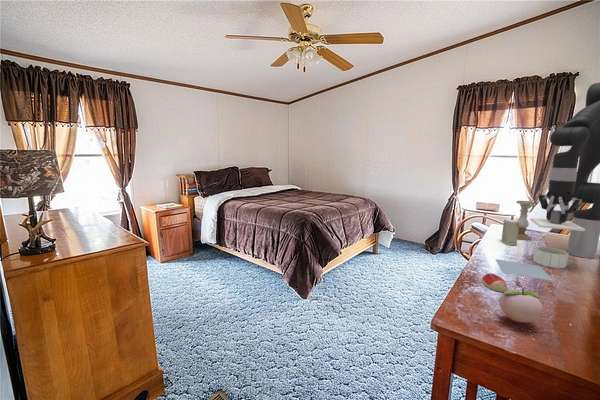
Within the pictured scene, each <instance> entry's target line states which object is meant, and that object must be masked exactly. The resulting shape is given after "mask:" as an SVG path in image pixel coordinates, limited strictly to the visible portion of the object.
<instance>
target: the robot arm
mask: <svg viewBox="0 0 600 400" xmlns="http://www.w3.org/2000/svg"><path fill="white" fill-rule="evenodd" d="M549 140H550V144H551V145H553V146H555V147H570V148H569V149H568V150H566V151H563V152H557V153H555V154H554V155H553V159H552V160H553V161H552V167H551V171H550V174H549V180H548V187H547V189H548V191H547V192H546V194H539V195H538V199H539V203H540V207H541V209H542V210H545V211H546V214H545V215H546V216H545V217H546V218H545V219H547V220H549V221H550V216H551V210H555V207H556V206H557V205H559V208H560V211H561V213H562V214H561V215H560V221H559V222H560V223H565V222H566V221H568V216H569V214H572V219H571V222H573V223H575V224H576V225H578V226H580V227H582V228H584V229H585V231H577V230H569V238H568V242H567V247H566V252H567V253H568V254H569V255H571V256H576V257H578V258H585V259H595V258H596V254H597V251H598V246H599V241H600V183H599V182H589V181H588V180H589V178H590V176H591V174H592V172H593V170H595V168H597V167H598V166H599V165H600V82H596V83H592V84H590V85H589V87H588V89H587V92H586V96H585V107H584V108H582V109H581V110H578V111H577V113H575V115H574V116H572V117H571V119H570V120H568V121H566V122H565V123H563V124H561V125H559V126H558V127H557V128H555V129H554V130H553V131H552V133H551V135H550V138H549ZM548 200H549V201H548ZM570 202H571V203H572V204H571V205H570ZM582 203H583V204H584V203H585V204H591V205H592V206H591V207H588V208H585V209H584V208H583V209H578V208H580V206H581V204H582Z"/></svg>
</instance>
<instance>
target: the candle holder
mask: <svg viewBox="0 0 600 400" xmlns="http://www.w3.org/2000/svg"><path fill="white" fill-rule="evenodd" d="M515 203H516V204H519V207H520V210H519V212H520V215H519V217H518V219H517V220H516V221H517V222H520V223H519V231H518V238H517V240H519V241H531V239H532V237H531V236H530V235H529V234H527V233H526V231H528V227H530V226H529V225H530V224H529V221H528V213H529V208H530V207H531V205H532V206H533V205H535V202H534V201H528V200H516V202H515Z"/></svg>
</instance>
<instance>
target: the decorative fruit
mask: <svg viewBox="0 0 600 400" xmlns="http://www.w3.org/2000/svg"><path fill="white" fill-rule="evenodd" d="M539 299H540V300H542V297H541V296H540V295H538V294H537V293H536V292H532V291H527V290H526V291H525V288H524V287H522V289H521V290H514V289H508V290H507V291H505V292H502V293H501V295H500V297H499V298H498V302H499V303H498V304H499V308H500V309H501V310H502V313H504V315H505V316H506V317H508V318H509V319H510V320H512V321H513V322H515V323H534V322H537V321H538V320H540V318H541V317H542V315H543V313H544V307H543V304H542V303H541V301H540V300H539Z"/></svg>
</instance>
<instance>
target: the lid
mask: <svg viewBox="0 0 600 400" xmlns="http://www.w3.org/2000/svg"><path fill="white" fill-rule="evenodd" d="M561 214H562V213H561V210H555V209H554V210H551V216H550V221H549V220H547V218H537V217H535V218H534V217H530V218H529V219H530V221H531V222H532V223H534V224H535V225H536V226H537V227H538V228H542V229H543V228H544V229H556V230H565V231H566V230H567V231H571V230H577V231H585V229H584V228H582V227H580V226H578V225H576V224H575V223H573V222H572V220H567V221H566V222H565V223H560V222H559V221H560V215H561Z"/></svg>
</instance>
